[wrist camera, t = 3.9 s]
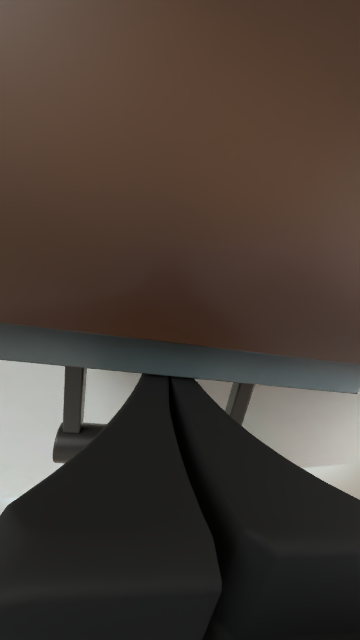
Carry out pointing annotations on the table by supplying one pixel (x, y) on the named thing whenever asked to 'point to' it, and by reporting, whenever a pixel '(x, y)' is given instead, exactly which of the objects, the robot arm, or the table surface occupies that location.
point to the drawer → (160, 371)
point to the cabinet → (183, 172)
